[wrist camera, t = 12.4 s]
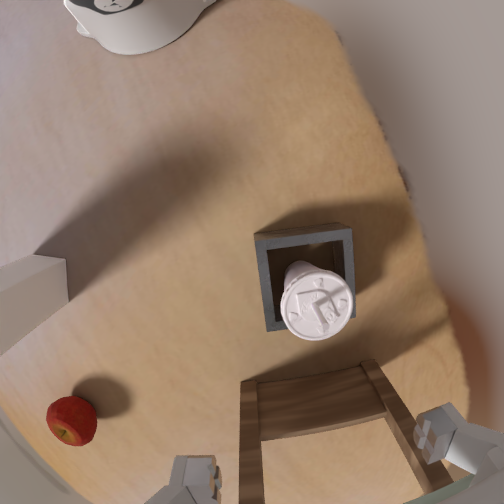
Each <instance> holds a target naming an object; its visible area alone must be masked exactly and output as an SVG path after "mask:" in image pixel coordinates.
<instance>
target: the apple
mask: <svg viewBox="0 0 504 504" xmlns="http://www.w3.org/2000/svg"><path fill="white" fill-rule="evenodd" d="M46 421H47V424H48V426H49V428H50V430H51V431H52V433H53V434H54V435H55V436H56V437H57V438H58V439H59V440H60V441H62V442H64V443H65V444H68V445H72V446H83V445H85V444H87V443H89V442H90V441H92V439H93V437H94V434H95V432H96V428H97V417H96V411H95V410H94V408H93V407H92V405H90V404H89V403H88V402H87V401H85V400H83V399H82V398H79V397H76V396H69V397H63V398H60V399H58V400H57V401H55V402H54V403H52V404H51V405H50V406H49V408H48V411H47V416H46Z"/></svg>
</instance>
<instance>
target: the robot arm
mask: <svg viewBox="0 0 504 504" xmlns="http://www.w3.org/2000/svg"><path fill="white" fill-rule="evenodd" d="M215 1H217V0H64V4H65V6H66V8H67V9H68V10H69V11H70V12H71V14H72V15H73V16H74V17H75V18H76V20H77V21H78V25H77V31H78V32H79V33H80V34H81V35H83V36H86V37H90V38H94V39H96V40H97V41H98V42H99V43H100V44H101V45H102V46H103V47H104V48H106V49H107V50H109V51H111V52H114V53H118V54H125V55H133V54H141V53H146V52H150V51H153V50H156V49H158V48H161V47H163V46H165V45H167V44H169V43H171V42H172V41H174V40H175V39H177V38H178V37H180V36H181V35H182V34H183V33H185V32H186V31H187V30H188V29H189V28H190V27H191V25H192V24H193V23H194V22H195V20H196V19H197V18H198V16H199V15H200V13H201V12H202V11H203V10H204V9H205V8H206V7H208V6H209V5H211V4H212V3H214V2H215ZM416 422H417V423H418V424H417V425H416V426H415V428H414V432H413V437H414V441H415V444H416V446H417V447H418V448H420V449H422V450H423V451H422V456H423V458H424V460H425V461H426V463H427V465H428V464H431V463H433V462H436V461H438V460H441V459H443V458H445V459H446V460H448V461H450V462H452V463H453V464H455V465H457V466H459V467H461V468H463V469H465V470H467V471H469V472H471V473H472V474H474V475H475V476H474V478H473V479H472V481H471V483H470V485H469V488H467V489H465V490H463V491H461V492H459V493H458V494H456V495H453V496H451V497H449V498H447V499H445V500H443V501H441V502H439V503H436V504H504V433H501V432H498V431H495V430H492V429H489V428H485V427H482V426H479V425H476V424H473V423H470V424H468V423H467V422H466V420H465V419H464V418H463V417H462V416H461V414H460V413H459V412H458V411H457V409H456V408H455V407H454V406H453V405H452V403H450V402H448V403H446V404H444V405H441V406H439V407H436V408H433V409H431V410H428V411H425V412H423V413H420V414H418V416H417V418H416ZM221 487H222V476H221V471H220V468H219V466H217V465H216V458H215V456H214V455H176V457H175V458H174V462H173V467H172V471H171V476H170V481H169V485H168V486H164V487H163V488H162V489H161V490H159V491H158V492H157V493H156V494H155V495H154V496H153V497H151V498H150V499H149V500H148V501H147V502H146V503H144V504H221V494H220V491H219V489H220V488H221Z"/></svg>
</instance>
